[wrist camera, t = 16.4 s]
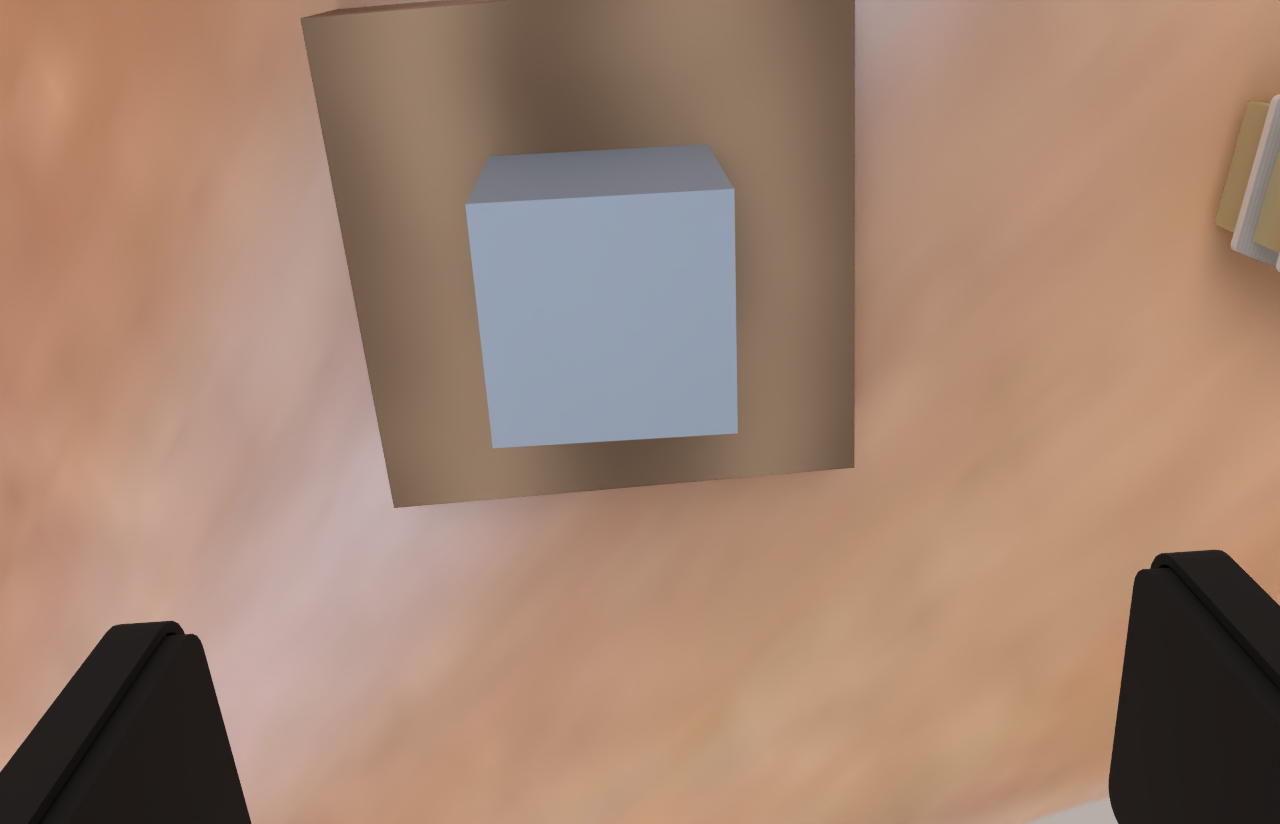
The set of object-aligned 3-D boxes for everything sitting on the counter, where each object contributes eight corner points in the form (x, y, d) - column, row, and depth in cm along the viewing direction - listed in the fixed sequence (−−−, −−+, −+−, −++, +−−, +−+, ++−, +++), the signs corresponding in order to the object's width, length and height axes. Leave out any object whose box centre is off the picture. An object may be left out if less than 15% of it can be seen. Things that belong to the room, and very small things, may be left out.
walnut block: (819, -33, 27) (854, -30, 23) (824, 407, 32) (854, 467, 28) (340, 8, 27) (300, 18, 23) (417, 442, 32) (394, 507, 28)
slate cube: (707, 143, 25) (734, 188, 20) (712, 349, 27) (737, 433, 22) (488, 156, 25) (464, 203, 20) (510, 361, 27) (492, 448, 22)
